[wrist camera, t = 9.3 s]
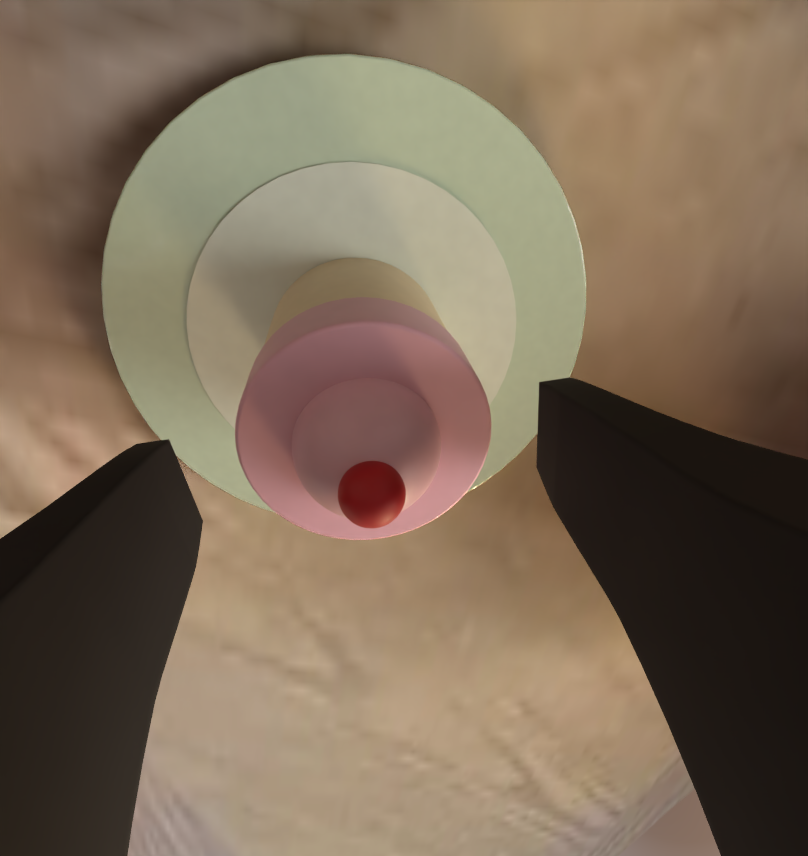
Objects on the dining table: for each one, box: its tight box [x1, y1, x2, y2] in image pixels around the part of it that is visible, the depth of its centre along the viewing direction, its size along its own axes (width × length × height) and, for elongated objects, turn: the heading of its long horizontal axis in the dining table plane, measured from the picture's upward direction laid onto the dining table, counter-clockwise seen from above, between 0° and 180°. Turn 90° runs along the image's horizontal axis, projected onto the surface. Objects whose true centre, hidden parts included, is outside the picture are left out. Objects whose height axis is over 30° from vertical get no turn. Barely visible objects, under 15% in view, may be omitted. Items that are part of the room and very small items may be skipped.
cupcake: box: [235, 258, 491, 540], centre depth 12 cm, size 5×5×8 cm
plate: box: [101, 53, 586, 513], centre depth 16 cm, size 14×14×1 cm
